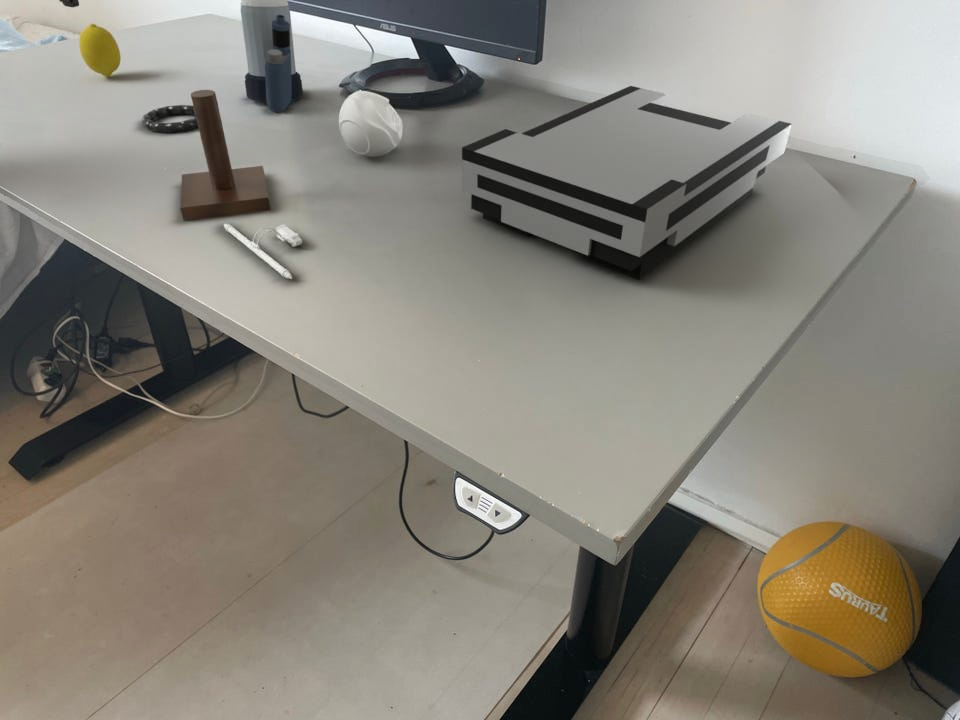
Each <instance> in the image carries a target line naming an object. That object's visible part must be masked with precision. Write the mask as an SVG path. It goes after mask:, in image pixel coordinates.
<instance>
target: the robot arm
mask: <svg viewBox="0 0 960 720" xmlns="http://www.w3.org/2000/svg"><path fill="white" fill-rule="evenodd" d="M58 1H59V2H60V3H62V4H63V6H64V7H69V8H76V7H77V8H78V7H79V6H80V2H79V1H80V0H58Z"/></svg>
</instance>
